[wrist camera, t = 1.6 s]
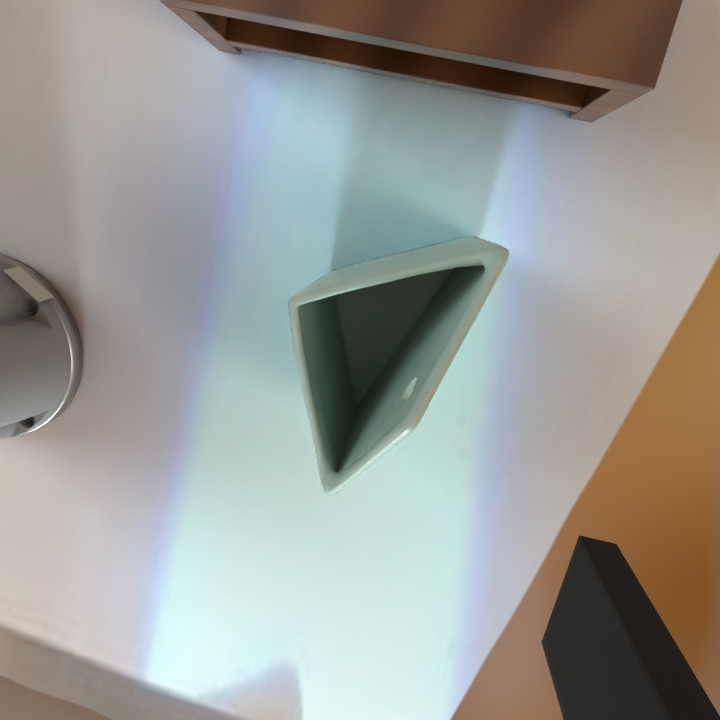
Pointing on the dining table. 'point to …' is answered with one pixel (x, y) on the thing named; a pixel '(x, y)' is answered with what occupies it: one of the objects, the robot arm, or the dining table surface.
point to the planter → (384, 345)
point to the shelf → (463, 43)
